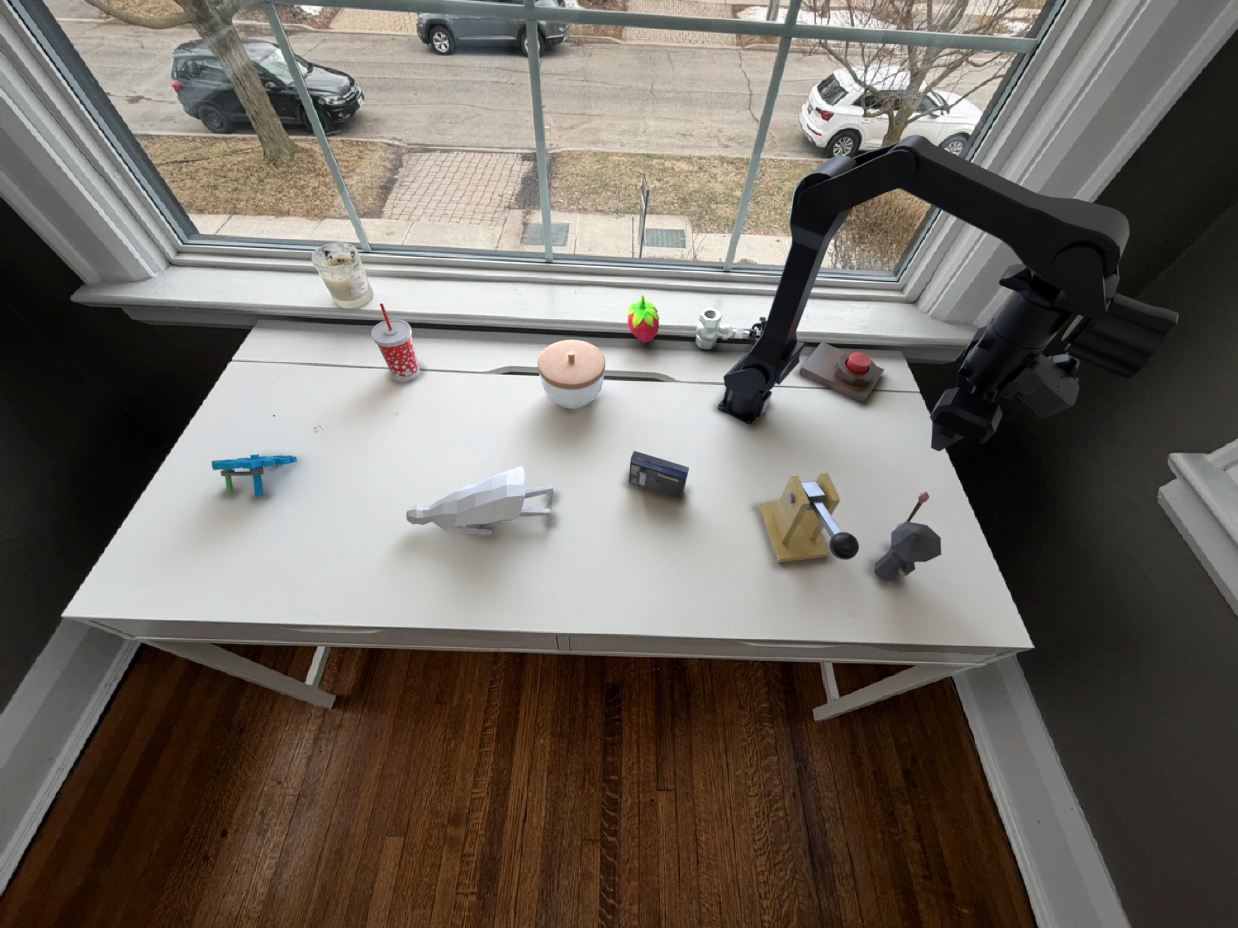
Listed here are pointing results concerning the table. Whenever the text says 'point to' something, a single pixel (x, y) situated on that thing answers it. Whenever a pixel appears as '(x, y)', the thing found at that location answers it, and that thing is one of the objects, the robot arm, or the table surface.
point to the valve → (723, 330)
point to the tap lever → (830, 524)
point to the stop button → (858, 363)
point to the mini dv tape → (657, 474)
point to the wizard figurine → (909, 547)
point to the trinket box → (571, 372)
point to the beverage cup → (396, 347)
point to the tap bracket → (798, 521)
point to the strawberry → (643, 320)
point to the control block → (839, 373)
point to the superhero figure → (482, 504)
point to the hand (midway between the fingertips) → (945, 427)
